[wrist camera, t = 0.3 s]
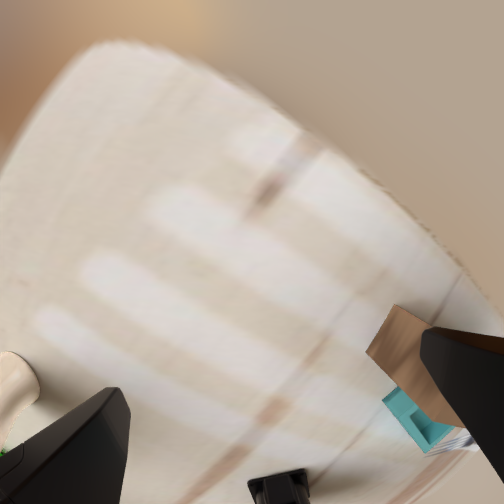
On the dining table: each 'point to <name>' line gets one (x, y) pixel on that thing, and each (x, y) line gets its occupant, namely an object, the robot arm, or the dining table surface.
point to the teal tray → (416, 420)
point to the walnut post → (410, 364)
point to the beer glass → (14, 391)
